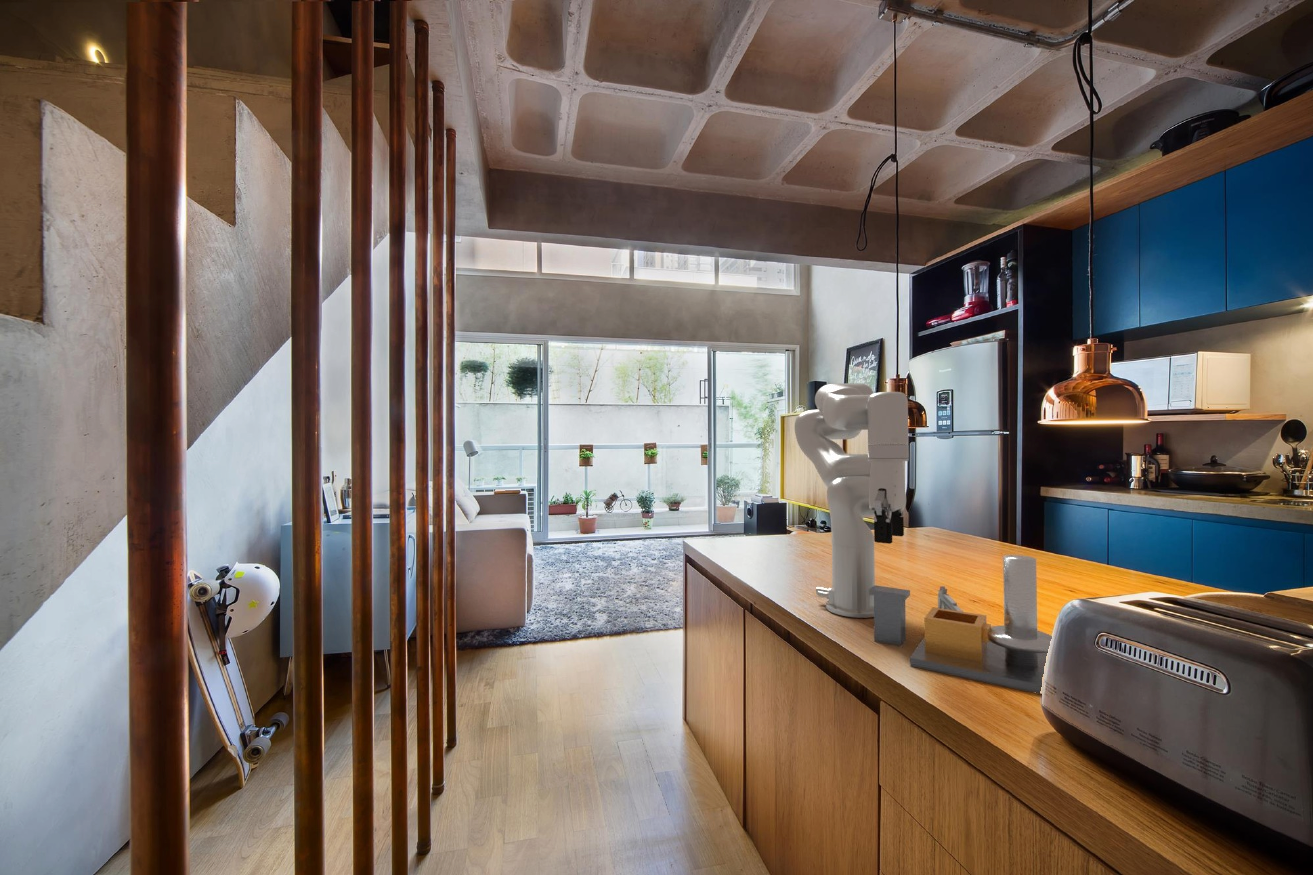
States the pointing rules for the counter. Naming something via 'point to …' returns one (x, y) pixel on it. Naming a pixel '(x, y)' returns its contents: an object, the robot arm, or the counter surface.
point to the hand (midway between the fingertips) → (889, 539)
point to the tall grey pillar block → (889, 614)
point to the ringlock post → (991, 636)
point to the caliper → (946, 600)
